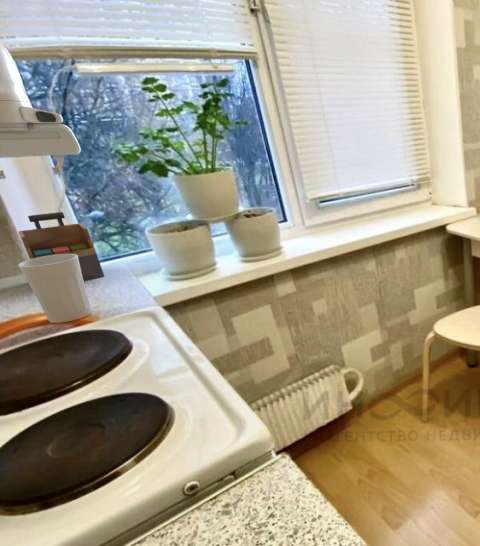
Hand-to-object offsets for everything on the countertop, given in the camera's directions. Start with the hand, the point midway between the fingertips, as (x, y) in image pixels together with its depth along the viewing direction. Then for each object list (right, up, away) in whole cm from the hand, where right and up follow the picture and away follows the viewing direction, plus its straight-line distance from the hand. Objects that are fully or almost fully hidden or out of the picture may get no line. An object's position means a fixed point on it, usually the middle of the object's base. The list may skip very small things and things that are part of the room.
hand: (31, 176), depth 101 cm
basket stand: (+4, -25, +6) cm, 26 cm away
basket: (+4, -19, +4) cm, 20 cm away
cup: (+26, -32, -16) cm, 44 cm away
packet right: (+6, -18, +6) cm, 19 cm away
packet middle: (+4, -18, +3) cm, 19 cm away
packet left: (+2, -19, +1) cm, 19 cm away
